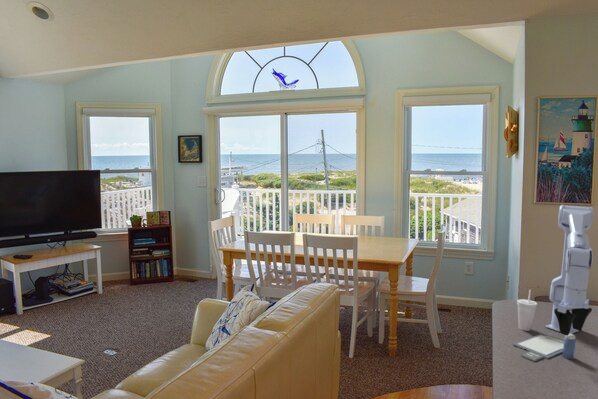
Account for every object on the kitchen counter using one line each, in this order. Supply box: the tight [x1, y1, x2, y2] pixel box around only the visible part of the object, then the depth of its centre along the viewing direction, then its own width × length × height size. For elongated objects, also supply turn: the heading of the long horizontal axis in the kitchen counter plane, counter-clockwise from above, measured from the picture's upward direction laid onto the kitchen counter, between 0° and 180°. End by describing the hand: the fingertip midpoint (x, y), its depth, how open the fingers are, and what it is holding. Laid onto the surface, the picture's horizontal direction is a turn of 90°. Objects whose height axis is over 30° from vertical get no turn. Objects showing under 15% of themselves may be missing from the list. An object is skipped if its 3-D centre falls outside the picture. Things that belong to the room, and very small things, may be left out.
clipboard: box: [512, 334, 564, 360], centre depth 145 cm, size 16×11×1 cm
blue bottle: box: [561, 333, 577, 360], centre depth 138 cm, size 3×3×7 cm
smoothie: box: [516, 289, 538, 332], centre depth 159 cm, size 6×6×14 cm
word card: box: [520, 351, 544, 362], centre depth 137 cm, size 5×4×1 cm
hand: (570, 331), depth 137 cm, fingers open, 7 cm apart
